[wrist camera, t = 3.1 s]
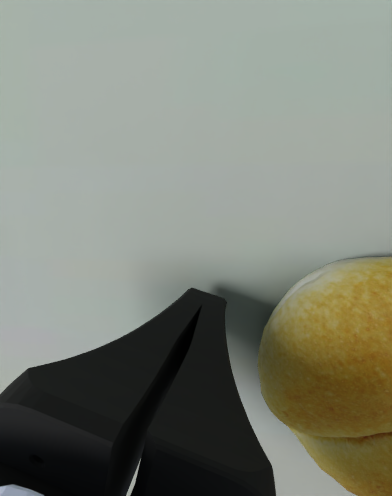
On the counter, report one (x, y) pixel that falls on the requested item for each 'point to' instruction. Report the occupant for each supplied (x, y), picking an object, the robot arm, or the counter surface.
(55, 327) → the counter surface
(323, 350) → the bread roll
